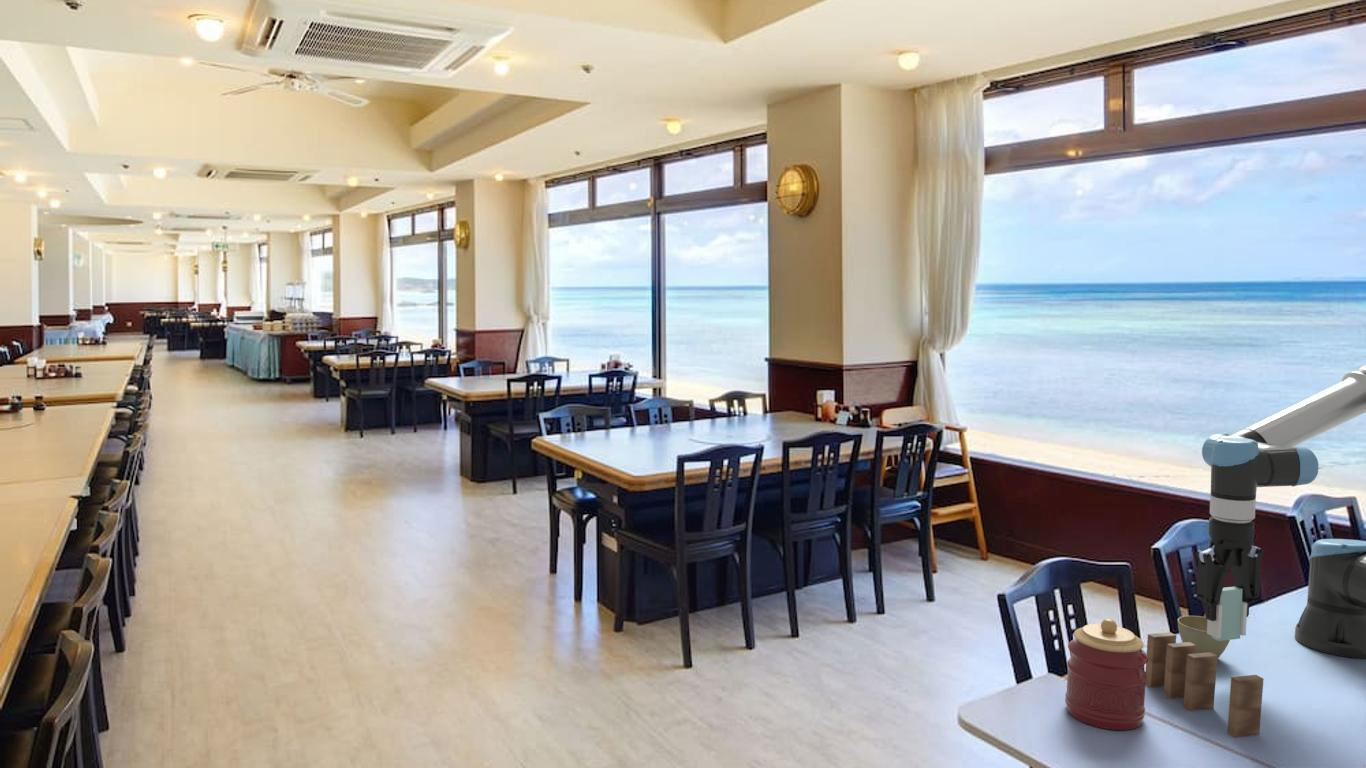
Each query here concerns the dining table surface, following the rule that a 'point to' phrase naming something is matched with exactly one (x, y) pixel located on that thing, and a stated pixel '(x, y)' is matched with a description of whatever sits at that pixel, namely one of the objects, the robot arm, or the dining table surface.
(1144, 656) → the canister
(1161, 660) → the domino
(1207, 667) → the domino
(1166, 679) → the domino
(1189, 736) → the dining table surface
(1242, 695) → the domino
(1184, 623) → the flower pot
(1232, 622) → the domino
